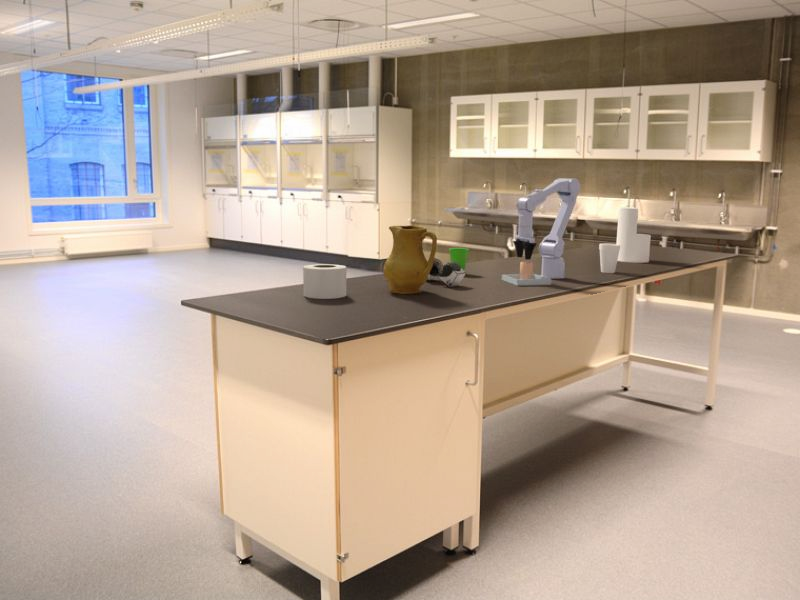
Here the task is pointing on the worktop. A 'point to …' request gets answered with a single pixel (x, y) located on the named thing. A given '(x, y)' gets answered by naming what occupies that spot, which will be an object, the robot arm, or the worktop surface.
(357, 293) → the worktop surface
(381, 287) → the worktop surface
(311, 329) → the worktop surface
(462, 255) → the cup
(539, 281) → the tray
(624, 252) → the white l-shaped piece
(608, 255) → the foam cup
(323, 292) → the white toilet paper roll
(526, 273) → the tumbler
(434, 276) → the black white sneaker
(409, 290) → the pitcher
